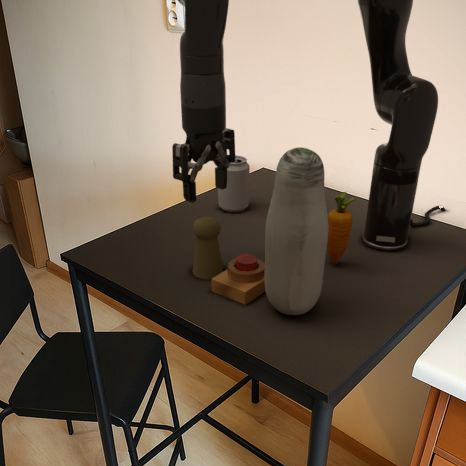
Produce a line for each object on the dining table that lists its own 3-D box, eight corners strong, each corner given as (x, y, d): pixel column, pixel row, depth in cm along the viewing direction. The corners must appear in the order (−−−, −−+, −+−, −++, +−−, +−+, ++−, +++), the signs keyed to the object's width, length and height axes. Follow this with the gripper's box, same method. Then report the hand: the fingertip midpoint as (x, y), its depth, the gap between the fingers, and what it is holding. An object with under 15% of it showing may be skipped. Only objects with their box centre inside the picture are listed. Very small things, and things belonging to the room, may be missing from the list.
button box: (211, 291, 110) (210, 269, 108) (247, 270, 117) (247, 249, 115) (245, 305, 106) (245, 283, 104) (280, 282, 113) (281, 260, 111)
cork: (198, 281, 114) (197, 228, 107) (188, 268, 118) (185, 216, 112) (227, 275, 116) (227, 222, 109) (216, 262, 120) (215, 211, 114)
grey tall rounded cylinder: (328, 320, 102) (345, 157, 86) (271, 327, 100) (278, 162, 84) (309, 292, 110) (322, 139, 94) (256, 298, 108) (260, 143, 92)
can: (249, 213, 141) (249, 163, 134) (217, 213, 141) (217, 163, 134) (248, 202, 147) (249, 153, 140) (218, 201, 147) (218, 153, 140)
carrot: (332, 256, 122) (340, 186, 114) (352, 264, 119) (361, 192, 111) (317, 264, 119) (324, 192, 111) (337, 272, 117) (345, 199, 108)
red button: (231, 268, 109) (231, 259, 108) (244, 260, 112) (244, 252, 111) (248, 274, 107) (248, 265, 106) (261, 266, 110) (261, 258, 109)
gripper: (191, 112, 92) (195, 211, 101) (247, 96, 101) (246, 188, 110) (157, 105, 96) (164, 201, 105) (213, 90, 105) (215, 179, 114)
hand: (206, 194), depth 108 cm, fingers open, 8 cm apart
